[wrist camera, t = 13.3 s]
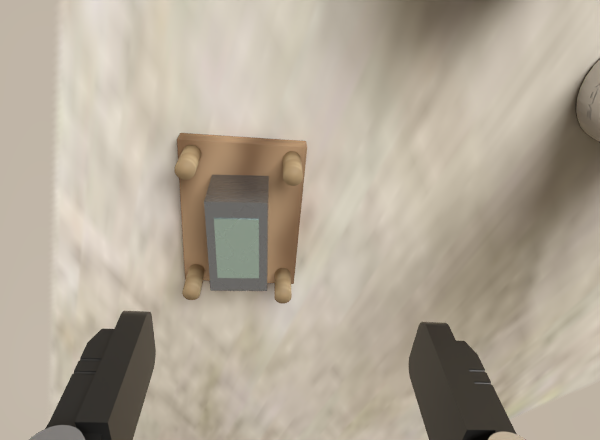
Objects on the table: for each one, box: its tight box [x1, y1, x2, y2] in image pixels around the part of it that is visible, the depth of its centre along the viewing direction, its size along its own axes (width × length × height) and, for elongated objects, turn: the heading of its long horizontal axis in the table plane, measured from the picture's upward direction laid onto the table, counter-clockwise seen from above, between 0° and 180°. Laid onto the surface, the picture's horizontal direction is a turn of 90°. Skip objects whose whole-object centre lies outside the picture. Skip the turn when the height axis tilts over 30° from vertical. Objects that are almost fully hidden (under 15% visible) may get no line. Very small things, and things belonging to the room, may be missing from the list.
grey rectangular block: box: [204, 175, 269, 291], centre depth 40 cm, size 5×9×5 cm, turn 177°
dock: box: [175, 133, 307, 303], centre depth 41 cm, size 11×15×5 cm
